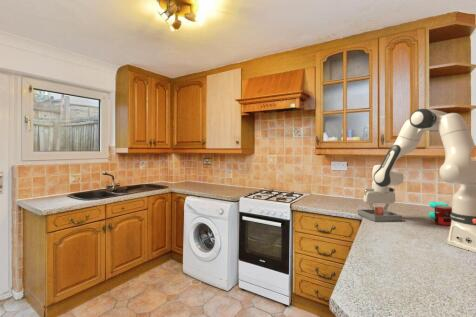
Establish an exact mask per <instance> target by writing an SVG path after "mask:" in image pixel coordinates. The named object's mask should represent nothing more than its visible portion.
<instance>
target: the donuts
mask: <svg viewBox="0 0 476 317" xmlns="http://www.w3.org/2000/svg"><path fill="white" fill-rule="evenodd" d="M428 205H429V207H431V208H432V209H435V205H446V206H449V204H448V203H447V202H441V201H431V202H429V203H428ZM428 216H429V218H432V219H434V218H435V211H431V212H429V214H428Z"/></svg>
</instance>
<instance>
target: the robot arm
mask: <svg viewBox="0 0 476 317" xmlns="http://www.w3.org/2000/svg"><path fill="white" fill-rule="evenodd" d="M427 131H429V132H438V133H439V135H440V140H441V142H442V146H443V148H444V149H443V150H444V152H445V157H444V162H443V164H441V166H440V167H439V172H438V173H439V177H440V178H441V180H442V181H443V182H445V183H449V184H454V185H460V187H459V189H458V190H457V191H456V192H455V193H453V195H452V196H451V198H452V200H451V207H452V212H451V215H450V216H451V226H449V232H448V235H447V239H446V241H447V242H446V244H447V245H450V246H453V247H456V248H460V249H463V250H466V251H468V250H469V251H468V252H472V253H475V254H476V160H472V158H471V156H472V151H473V150H474V149H475V147H476V144H475V142H474V138H473V136H472V133H471V130H470V128H469V127H468V124H467V122H466V121H465V119H464V117H462V115H461V114H460V113H457V112H450V113H449V112H446V111H442V110H439V109H438V110H437V109H432V108H418V109H416V110H414V111H413V112H412V113H411V114H410V116H409V118H408V119H407V120H405V122H404V124H402V127H401V129H400V131H399V132H398V136H397V138H396V139H395V142H394V143H393V145H392V146H391V147H390V148H389V149H388V151H387V152H386V154H385V156H384V159H383V160H382V161H381V162H382V163H378V164H374V165H373V166H372V171H371V172H372V173H371V178H372V182H371V188H366V189H365V190H364V191H363V193H364V194H363V200H362V201H363V203H366V204H368V205H369V208H370V209H371V210H374V209H375V206H373V204H385V206H383V210H386V211H389V206H390V204H394V203H395V202H396V193H395V190H396V189H395V188H393V187H391V186H399V185H401V184H402V183H403V182H404V174H403V173H402V171H400V170H398V169H394V166H395V164H396V162H397V161H398V160H399V159H400V158H401V157H403V156H406V155H407V154H410V153H413V152H414V151H415V150H416V149H417V148H418V145H419V143H420V142H421V139H422V136H423V135H424V133H425V132H427Z"/></svg>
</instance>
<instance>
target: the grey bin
mask: <svg viewBox="0 0 476 317" xmlns="http://www.w3.org/2000/svg"><path fill="white" fill-rule="evenodd" d="M357 215H358V216H360V217H362V218H364V219H367V220H370V221H371V222H373V223H386V222H387V223H389V222H391V223H392V222H393V223H394V222H402V221H403V215H402V214H401V215H400V214H399V213H398V214H397V213H395V212H392V211H389V210H384V209H383V216H375V208H374V210H371V209H364V208H363V209H357Z"/></svg>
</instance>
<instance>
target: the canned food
mask: <svg viewBox="0 0 476 317" xmlns="http://www.w3.org/2000/svg"><path fill="white" fill-rule="evenodd" d="M434 212H435V218H433V220H434V224H435V225H437V226H444V227H451V216H450V215H451V212H452V206H449V205H448V206H446V205H435V208H434Z"/></svg>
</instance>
